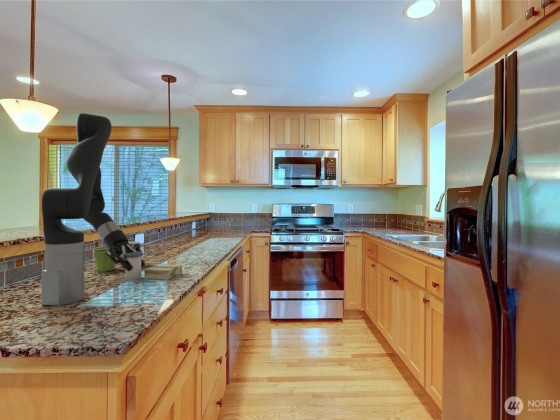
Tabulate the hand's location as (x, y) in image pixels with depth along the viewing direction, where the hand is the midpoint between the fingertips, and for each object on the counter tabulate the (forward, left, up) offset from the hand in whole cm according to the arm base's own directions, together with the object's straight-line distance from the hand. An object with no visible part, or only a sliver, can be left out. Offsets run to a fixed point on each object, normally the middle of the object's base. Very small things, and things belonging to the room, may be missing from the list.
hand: (137, 267), depth 108 cm
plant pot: (+9, +23, -5) cm, 25 cm away
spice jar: (0, +2, -4) cm, 5 cm away
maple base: (+6, -7, -4) cm, 10 cm away
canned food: (+18, +18, -4) cm, 26 cm away
